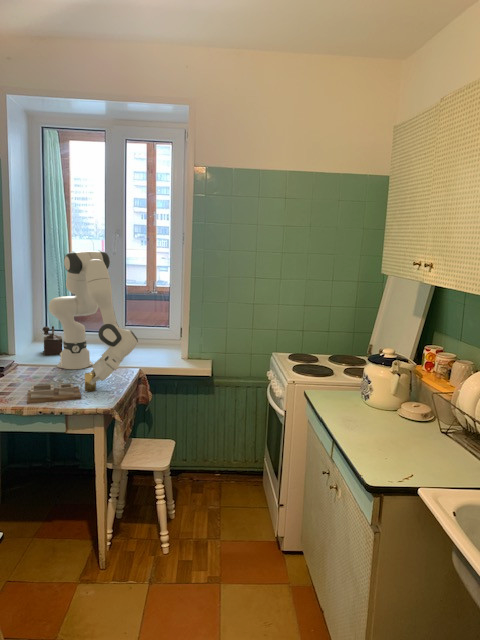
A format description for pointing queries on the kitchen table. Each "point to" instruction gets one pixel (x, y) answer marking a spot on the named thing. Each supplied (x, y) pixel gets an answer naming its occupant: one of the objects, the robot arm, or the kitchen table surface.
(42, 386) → the socket board
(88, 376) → the gold metal cylinder
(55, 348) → the manual coffee grinder
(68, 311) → the robot arm
